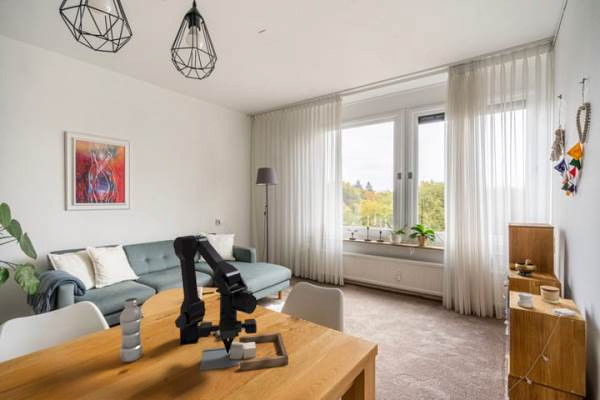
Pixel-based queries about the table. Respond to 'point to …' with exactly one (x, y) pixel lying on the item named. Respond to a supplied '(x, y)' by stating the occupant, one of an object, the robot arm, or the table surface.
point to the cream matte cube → (236, 350)
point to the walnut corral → (264, 361)
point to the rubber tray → (217, 359)
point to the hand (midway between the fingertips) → (227, 352)
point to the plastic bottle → (131, 331)
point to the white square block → (249, 350)
